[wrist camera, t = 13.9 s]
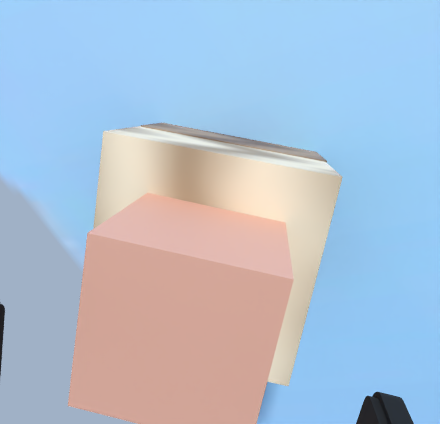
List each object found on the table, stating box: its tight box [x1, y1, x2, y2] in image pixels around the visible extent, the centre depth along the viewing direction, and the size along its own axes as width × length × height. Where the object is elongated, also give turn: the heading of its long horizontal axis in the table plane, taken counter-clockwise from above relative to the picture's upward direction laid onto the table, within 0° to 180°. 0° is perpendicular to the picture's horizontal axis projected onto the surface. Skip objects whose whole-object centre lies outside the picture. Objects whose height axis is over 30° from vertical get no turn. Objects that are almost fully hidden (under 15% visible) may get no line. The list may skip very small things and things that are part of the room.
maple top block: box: [94, 126, 342, 386], centre depth 21 cm, size 10×10×5 cm
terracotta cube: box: [68, 193, 294, 424], centre depth 15 cm, size 6×6×6 cm
